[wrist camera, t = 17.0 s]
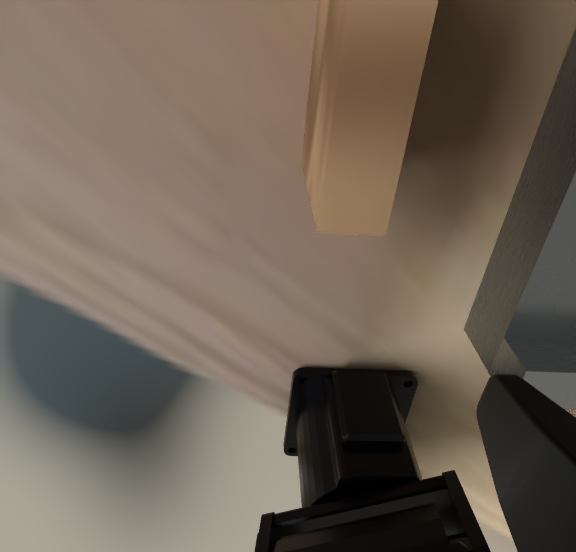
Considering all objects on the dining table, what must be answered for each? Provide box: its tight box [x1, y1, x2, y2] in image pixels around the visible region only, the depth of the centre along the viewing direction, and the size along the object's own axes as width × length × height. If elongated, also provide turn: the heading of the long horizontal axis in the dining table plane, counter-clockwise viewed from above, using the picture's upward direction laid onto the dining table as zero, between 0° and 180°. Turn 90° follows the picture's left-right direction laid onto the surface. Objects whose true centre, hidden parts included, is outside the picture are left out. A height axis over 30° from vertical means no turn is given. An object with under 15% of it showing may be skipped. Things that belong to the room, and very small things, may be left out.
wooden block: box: [301, 0, 438, 237], centre depth 14 cm, size 8×2×6 cm, turn 175°
